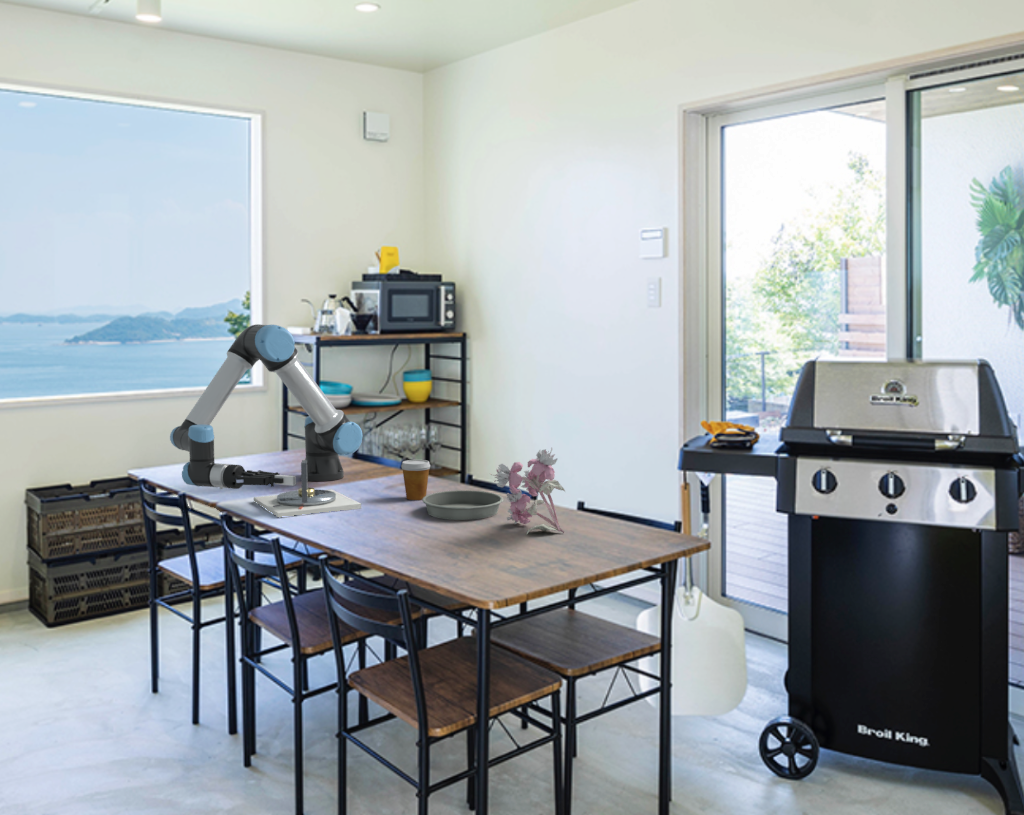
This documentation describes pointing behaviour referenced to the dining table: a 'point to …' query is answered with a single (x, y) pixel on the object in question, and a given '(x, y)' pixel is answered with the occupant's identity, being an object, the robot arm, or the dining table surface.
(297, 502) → the dial
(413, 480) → the disposable coffee cup
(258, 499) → the dial board
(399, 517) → the dining table surface
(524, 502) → the flower
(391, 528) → the dining table surface
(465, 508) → the cake pan
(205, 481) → the robot arm
